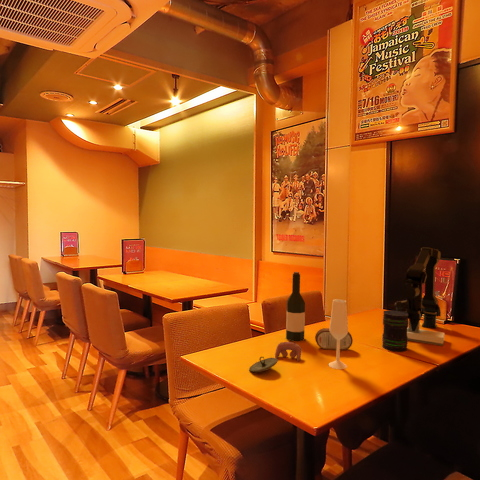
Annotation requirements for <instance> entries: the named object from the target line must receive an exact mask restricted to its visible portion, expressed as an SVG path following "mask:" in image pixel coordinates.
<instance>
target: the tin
mask: <svg viewBox="0 0 480 480" xmlns="http://www.w3.org/2000/svg"><path fill="white" fill-rule="evenodd" d="M329 328H330V327H329ZM329 328H327V327H325V328H320V329H319V330H317V332H316V333H315V337H314V340H315V342H316V345H317V346H318V347H319V348H320V349H323V350H332V351H336V350H337V339H335V338H334V337H333V336H332V335H331V333H330V331H329ZM353 341H354V340H353V336H352V333H350V331H348V333H347V335H346V336H345V337H344V338H342V339H341V340H340V351H346V350H349V349H350V348H351V347H352V345H353Z"/></svg>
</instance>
